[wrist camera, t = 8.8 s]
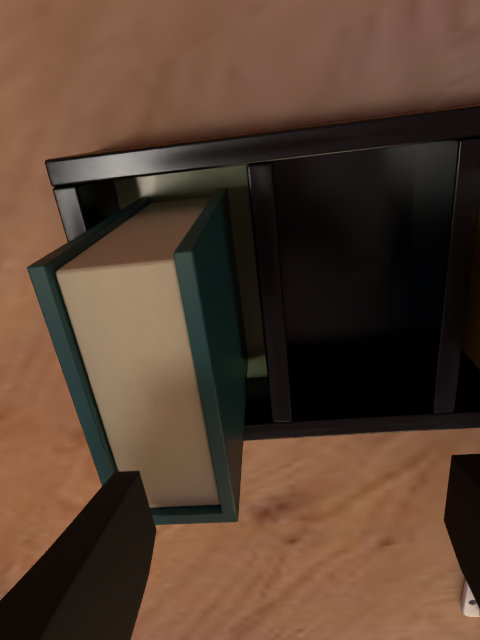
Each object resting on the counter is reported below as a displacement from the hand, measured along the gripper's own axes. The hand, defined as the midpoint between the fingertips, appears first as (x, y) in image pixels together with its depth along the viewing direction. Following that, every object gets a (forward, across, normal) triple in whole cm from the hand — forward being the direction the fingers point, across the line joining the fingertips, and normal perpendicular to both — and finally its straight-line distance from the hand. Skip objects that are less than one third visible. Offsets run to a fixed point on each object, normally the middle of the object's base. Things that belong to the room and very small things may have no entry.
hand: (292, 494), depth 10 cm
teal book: (+9, +3, -2) cm, 10 cm away
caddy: (+10, -3, -2) cm, 10 cm away
